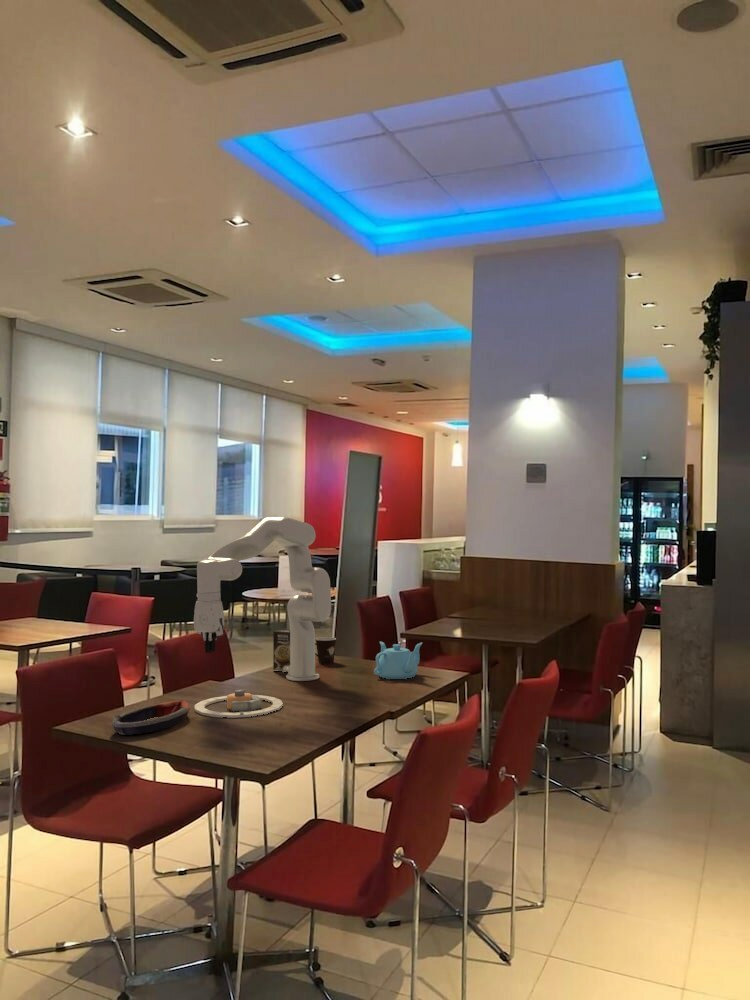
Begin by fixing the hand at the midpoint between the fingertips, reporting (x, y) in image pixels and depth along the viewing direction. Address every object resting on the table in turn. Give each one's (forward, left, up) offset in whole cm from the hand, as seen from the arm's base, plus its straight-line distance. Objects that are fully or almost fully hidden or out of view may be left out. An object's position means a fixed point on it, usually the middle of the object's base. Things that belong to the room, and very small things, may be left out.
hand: (210, 652), depth 273 cm
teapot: (+33, +69, -17) cm, 79 cm away
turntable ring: (+13, -1, -17) cm, 21 cm away
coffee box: (-11, +55, -17) cm, 59 cm away
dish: (+6, -30, -17) cm, 35 cm away
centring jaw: (+17, -1, -17) cm, 24 cm away
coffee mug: (-9, +77, -17) cm, 80 cm away
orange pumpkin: (+13, -1, -17) cm, 22 cm away
